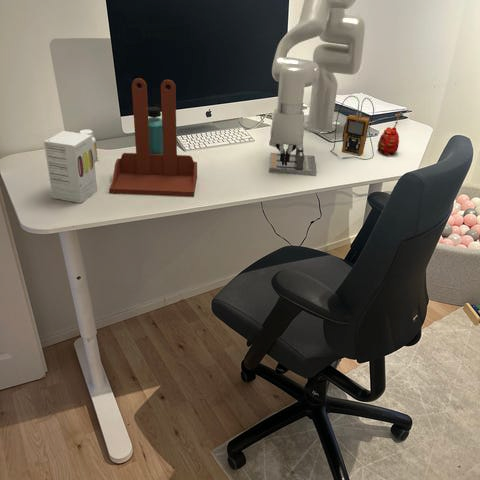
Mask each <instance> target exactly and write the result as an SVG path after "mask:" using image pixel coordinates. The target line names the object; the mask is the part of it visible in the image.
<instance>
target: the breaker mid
mask: <svg viewBox="0 0 480 480" xmlns="http://www.w3.org/2000/svg"><path fill="white" fill-rule="evenodd" d="M300 152H301V153H304V147H303V148H297V154H298V153H300ZM295 154H296V153H295ZM297 154H296V163H297Z"/></svg>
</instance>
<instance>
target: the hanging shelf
mask: <svg viewBox="0 0 480 480" xmlns="http://www.w3.org/2000/svg"><path fill="white" fill-rule="evenodd" d="M138 84H140V85H141V87H138V86H137V85H138ZM167 85H170V89H168V88H166V86H167ZM176 89H177V88H176V84H175V82H174V81H173V80H171V79H164V80H163V81H162V82H161V84H160V98H161V99H160V101H161V102H160V103H161V105H160V106H161V108H160V109H161V119H162V136H163V154H150V143H149V123H148V118H149V117H148V108H149V105H148V85H147V83H146V81H145V80H144V79H143V78H140V77H138V78H135V79H133V81H132V82H131V94H132V96H131V97H132V108H133V110H132V111H133V123H134V124H133V125H134V140H135V141H134V142H135V152H123V153H122V154H121V157H120V158H117V159H116V160H115V164H114V169H113V177H112V181H111V183H110V187H109V189H108V191H109V194H115V195H117V194H118V195H138V196H163V197H164V196H165V197H187V198H189V197H190V198H191V197H192V198H194V197H195V192H196V186H197V180H198V161H194V158H193V157H192V155H189V154H188V155H185V154H183V155H182V154H178V146H177V145H178V144H177V143H178V141H177V136H178V135H177V103H176V100H177V98H176V94H177V93H176V91H177V90H176Z"/></svg>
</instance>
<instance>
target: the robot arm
mask: <svg viewBox="0 0 480 480" xmlns="http://www.w3.org/2000/svg"><path fill="white" fill-rule="evenodd" d="M356 1H357V0H303V5H302V9H301V12H300V16H299V21H298V23H297V24H296V25H295V26H293V27H292V28H291V29H290V30H288V31H287V32H286V34H285V35H284V36H283V37H282V38H281V40H280V41H279V42H278V45H277V47H276V50H275V54H274V59H273V62H272V66H271V74H272V78H273V79H274V81H276V82H278V92H277V93H278V94H277V106H276V109H274V112H273V115H272V118H271V119H272V120H271V127H270V139H269V143H268V145H269V146H270V147H273V148H276V149H277V150H278V152H279V153H281V154H280V162H282V165H284V161H285V166H287V162H289V160H290V154H292V153H293V152H294V151H296V148H303V149H304V134H305V131H307V132H309V133H314V134H319V133H320V132H330V131H333V130H335V128H336V129H337V125H336V124H333V122H334V114H335V108H336V99H337V94H338V93H337V92H338V85H339V84H338V80H337V78H336V76H335V74H341V75H342V74H343V75H351V76H352V75H355V74H357V73H358V72H359V70H360V67H361V64H362V59H363V49H364V41H365V28H366V25H365V21H364V19H363V18H362V17H360V16H356V15H348V14H345V10H347V9H348V10H349V9H350V8H351V7H352V6H354V3H356ZM317 37H319V39H320V40H321V42H323V43H321V44H319V45H317V46H316V47H315V48H314V51H313V54H312V60H311V59H310V60H309V59H302V58H296V57H289V56H288V54H289V52H290V50H291V49H293V48H294V47H295V46H297V45H298V44H300V43H303V42H305V41H308V40H311V39H314V38H317ZM287 56H288V57H287ZM308 87H311V93H310V99H309V100H310V102H309V108H308V104H305V103H303V102H304V93H305V88H308ZM308 109H309V111H308V117H307V118H308V120H307V121H305V111H304V110H308ZM284 145H287V149H285V146H284Z"/></svg>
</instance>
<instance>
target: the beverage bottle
mask: <svg viewBox="0 0 480 480" xmlns="http://www.w3.org/2000/svg"><path fill="white" fill-rule="evenodd" d="M160 117H161V118H160ZM148 123H149V143H150V154H163V136H162V111H161V108H160V107H157V106H150V107H149V106H148Z"/></svg>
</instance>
